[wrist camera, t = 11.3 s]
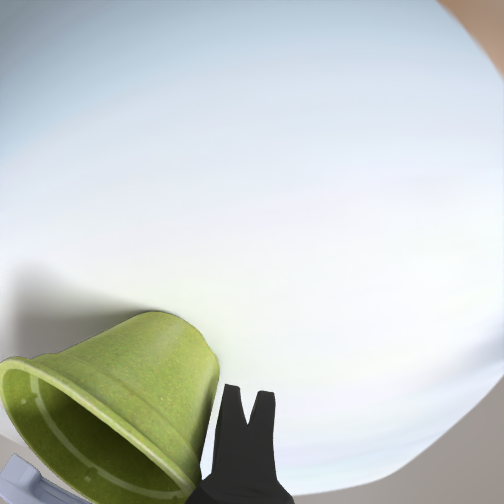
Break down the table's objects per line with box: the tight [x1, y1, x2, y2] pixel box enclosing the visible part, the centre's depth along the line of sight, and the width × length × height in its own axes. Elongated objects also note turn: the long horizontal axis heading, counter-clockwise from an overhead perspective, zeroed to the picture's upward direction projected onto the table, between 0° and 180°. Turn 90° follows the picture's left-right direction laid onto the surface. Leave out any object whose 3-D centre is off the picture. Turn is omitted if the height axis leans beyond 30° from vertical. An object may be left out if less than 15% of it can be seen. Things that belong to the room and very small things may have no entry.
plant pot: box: [0, 312, 219, 504], centre depth 11 cm, size 9×9×9 cm
